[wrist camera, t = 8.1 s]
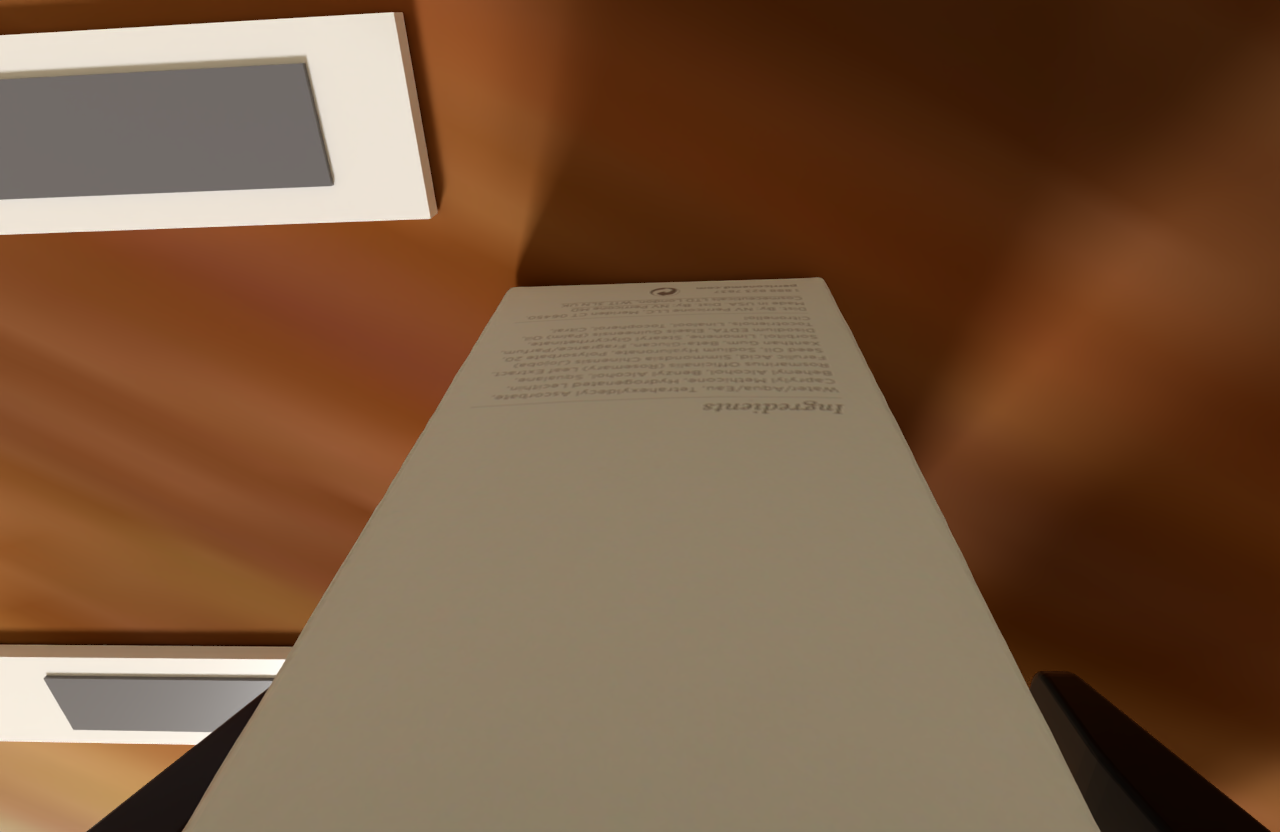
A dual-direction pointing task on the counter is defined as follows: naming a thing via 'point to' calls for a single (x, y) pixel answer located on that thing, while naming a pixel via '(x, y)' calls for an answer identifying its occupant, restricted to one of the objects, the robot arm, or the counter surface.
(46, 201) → the bracket
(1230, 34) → the counter surface
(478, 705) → the small box
